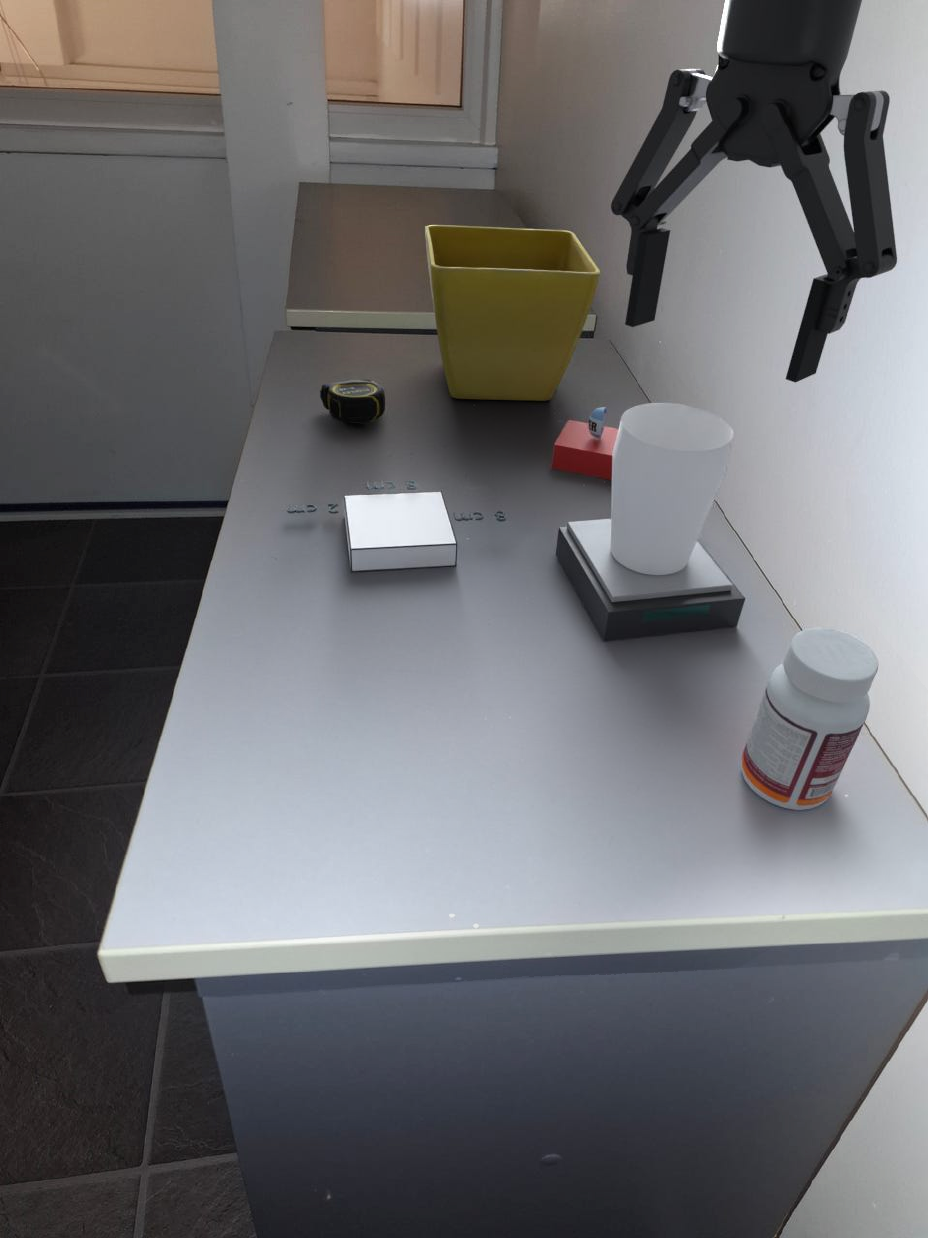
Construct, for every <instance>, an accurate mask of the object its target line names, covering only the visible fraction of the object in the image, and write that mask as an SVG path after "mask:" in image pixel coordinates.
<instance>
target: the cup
mask: <svg viewBox="0 0 928 1238" xmlns="http://www.w3.org/2000/svg"><path fill="white" fill-rule="evenodd" d="M618 429H619V430H618V434H617V438H616V442H615V445H614V449H613V456H612V480H611V503H610V504H611V506H610V507H611V508H610V514H611V515H610V519H611V553H612V555H613V557H614V558H615V559H616V560H617V561H618V562H619V563H620V564H622V565H623V566H625V567H627V568H628V569H631V570H633V571H636V572H639V573H643V574H648V575H667V574H672V573H675V572H678V571H680V570H682V569H683V568H684V567H685V566H686V565H687V563H688V560H689V558H690V556H691V553H692V551H693V549H694V547H695V544H696V542H697V540H699V537H700V535H701V532H702V530H703V528H704V526H705V524H706V521H707V519H708V516H709V514H710V512H711V510H712V507H713V505H714V502H715V500H716V498H717V497H718V496H717V495H718V494H719V491H720V489H721V486H722V484H723V482H724V479H725V478H726V474H727V472H728V466H729V461H730V455H731V450H732V444H733V439H734V430H733V427H732V426H731V425H730V424H729V423H728V422H727V421H726V420H724V418H722V417H720V416H718V415H717V414H714V413H712V412H710V411H708V410H706V409H702V408H699V407H696V406H691V405H687V404H681V403H675V402H674V403H673V402H648V403H642V404H637V405H635V406H634V405H633V406H632V407H630V408H628V409H626V410H625V411H624V412H623V413H622V414H621V417H620V420H619V425H618Z"/></svg>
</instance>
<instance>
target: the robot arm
mask: <svg viewBox="0 0 928 1238" xmlns="http://www.w3.org/2000/svg"><path fill="white" fill-rule="evenodd" d="M862 2H863V0H725V2H724V7H723V13H722V17H721V23H720V28H719V35H718V40H717V46H716V49H717V50H716V51H717V55H718V63H717V66H716V69H715V72H714V73H713V75H712V76H709V75H706V73H705V71H704V70H703V69H702V68H687V69H685V68H683V69H674V71H672V72H671V74H670V76H669V78H668V82H667V87H666V91H665V93H664V94H665V95H664V99H663V103H662V107H661V109H660V111H659V113H658V114H657V116H656V118H655V121H654V122H653V124H652V125H651V127H650V129H649V132H648V133H647V135H646V136H645V139H644V140H643V143H642V145H641V146H640V148H639V150H638V152H637V154H636V155H635V157H634V159H633V161H632V163H631V165H630V167H629V169H628V171H627V173H626V174H625V176H624V178H623V179H622V181H621V184H620V185H619V187H618V189H617V191H616V193H615V195H614V197H613V198H612V200H611V203H610V209H611V213H612V214H613V215H615V216H621V217H622V218H623V219H625V220H626V221H627V222H628V224H629V226H630V230H631V231H630V239H629V246H628V253H627V259H626V264H625V267H626V274H627V275H629V276H632V277H631V284H630V290H629V295H628V302H627V310H626V316H625V323H624V325H625V326H629V327H631V328H636V327H639V326H641V325H645V324H648V323H650V322H651V323H652V322H654V321H655V320H656V314H657V308H658V303H659V296H660V292H661V287H662V279H663V274H664V270H665V269H664V268H665V263H666V257H667V252H668V247H669V246H668V245H669V241H670V234H671V230H670V229H667V228H664V227H661V228H658V226H662V225H665V224H667V221H665V220H666V219H667V218H668V217H669V215H671V214H672V212H674V211H675V210H676V208H677V207H678V206H679V205H680V204H681V203H682V202H683V201H684V200H686V198H687V197H688V196H689V195H690V194H691V193H692V192H693V191H694V190H695V188H696V187H697V186H698V185H700V184H701V182H702V181H703V180H704V179H705V178H706V177H707V176H708V175H709V174H710V173H711V172H712V171H713V170H714V169H715V168H716V167H717V166H718V165H719V164H720V163H721V162H722V161H723V160H725V159H726V160H727V161H732V162H743V161H750V162H752V163H753V164H755V165H757V166H759V167H764V168H775V167H781V170H782V172H783V174H784V176H785V178H786V179H788V180H789V181H790V182H791V184H792V186H793V188H794V190H795V193H796V196H797V199H798V201H799V204H800V206H801V210H802V212H803V214H804V216H805V219H806V223H807V224H808V227H809V229H810V232H811V235H812V237H813V240H814V242H815V245H816V247H817V250H818V252H819V255H820V258H821V261H822V263H823V266H824V267H825V268H824V269H825V270H826V271H825V272H826V274H823V275H819V276H816V277H814V278H812V282H811V286H810V290H809V292H808V297H807V300H806V304H805V308H804V311H803V314H802V318H801V321H800V326H799V329H798V333H797V336H796V340H795V343H794V347H793V350H792V354H791V358H790V362H789V365H788V368H787V372H786V375H785V380H786V381H789V382H792V383H795V384H796V383H798V382H800V381H803V380H805V379H807V378H809V377H811V376H814V375H816V374H817V370H818V367H819V364H820V362H821V357H822V354H823V351H824V347H825V344H826V341H827V339H828V338H827V337H828V334H829V335H830V334H833V333H836V332H837V331H840V330H841V328H842V327H843V326H844V324H845V323H846V322H847V321H846V320H847V317H848V313H849V311H850V307H851V304H852V302H853V297H854V295H855V291H856V288H857V285H858V283H859V281H860V280H861V279H865V278H866V279H871V278H874V277H876V276H877V277H878V276H880V275H882V274H885V273H888V272H890V271H892V270H893V269H894V268H895V267H896V265H897V263H898V254H897V253H898V252H897V245H896V237H895V236H896V235H895V228H894V227H895V226H894V219H893V211H892V203H891V201H892V200H891V193H890V185H889V178H888V177H889V175H888V169H887V168H888V167H887V160H886V149H885V141H884V132H885V128H886V122H887V119H888V118H887V117H888V114H889V113H888V112H889V108H890V100H891V99H890V95H889V93H888V92H887V91H885V90H882V89H881V90H871V91H870V90H869V91H860V92H857V93H853V94H851V93H850V94H848V93H847V94H844V93H843V94H841V89H840V79H841V74H842V70H843V68H844V66H845V64H846V61H847V58H848V55H849V51H850V48H851V44H852V41H853V37H854V33H855V29H856V25H857V22H858V18H859V13H860V9H861V7H862ZM704 105H707V109H708V112H709V115H710V118H711V122H710V123H708V124H707V126H706V127H705V128H704V129H703V131H701V132H700V133H699V135H697V137H696V138H695V139H694V140H693V141H692V142H691V144H690V149H689V150H688V151H687V152H686V153H685V154H684V155H683V157H682V158H680V159H679V161H678V162H677V163H676V164H675V165H674V166H673V168H671V170H670V171H669V172H668V173H667V174H666V175H665V176H664V178H662V176H663V174H664V173H665V171H666V170H667V168H668V166H669V164H670V162H671V160H672V158H673V157H674V156H675V153H676V152H677V150H678V149H679V147H680V145H681V143H682V142H683V139H684V138H685V136H686V134H687V132H688V131H689V129H690V127H691V126H692V124H693V121H694V120H695V118H696V115H697V113H698V111H700V110H701V109H702V108H703V107H704ZM835 118H836V120H837V129H838V131H839V133H840V135H842V136H843V158H844V166H845V172H846V180H847V187H848V197H849V202H850V211H851V217H852V218H851V219H852V224H851V220H850V218H849V216H848V213H847V211H846V208H845V205H844V202H843V200H842V198H841V195H840V192H839V190H838V187H837V185H836V182H835V179H834V176H833V174H832V171H831V168H830V163H831V159H830V155H829V152H828V150H827V148H826V145H825V142H824V139H823V137H822V134H821V133H822V132H823V131H824V130H825V129H826V128H827V126H828V125H829V124H831V122H833V120H834V119H835ZM661 178H662V179H661ZM660 179H661V181H660ZM659 181H660V182H659Z"/></svg>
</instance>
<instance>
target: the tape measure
mask: <svg viewBox="0 0 928 1238" xmlns="http://www.w3.org/2000/svg"><path fill="white" fill-rule="evenodd" d="M319 393H320V394H319V397H320V400H321V402H322V405H323V407H324V408H325V409H326V410H328V411H329V414H330V416H331V417H332V418H333V419H335V420H336V421H340V422H342V423H350V424H361V423H362V424H364V423H369V422H372V421H375V420H378V419H379V418H381V417H382V416H383V415H384V413H385V410H386V393H385V389H384V387H383V386H382V385H381V384H379V383H376V382H375V381H374V380H370V379H351V380H344V381H338V382H329V383H325V384H322V385H321V389H320V390H319Z"/></svg>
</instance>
